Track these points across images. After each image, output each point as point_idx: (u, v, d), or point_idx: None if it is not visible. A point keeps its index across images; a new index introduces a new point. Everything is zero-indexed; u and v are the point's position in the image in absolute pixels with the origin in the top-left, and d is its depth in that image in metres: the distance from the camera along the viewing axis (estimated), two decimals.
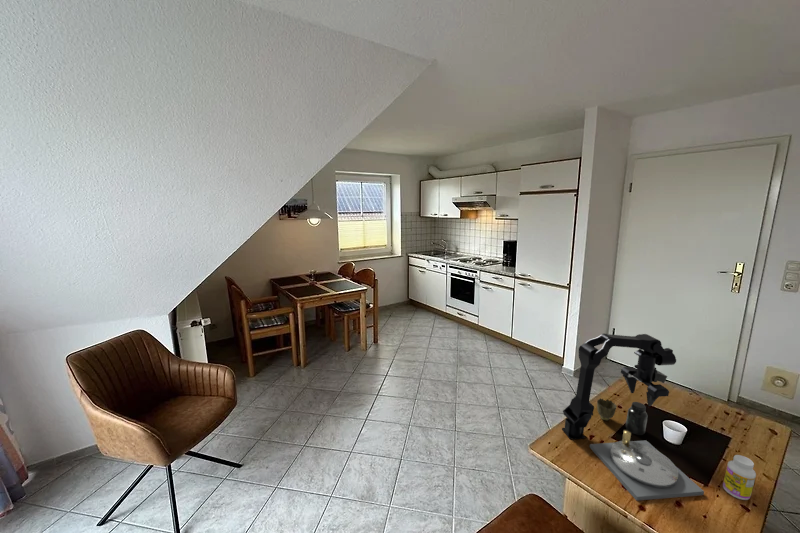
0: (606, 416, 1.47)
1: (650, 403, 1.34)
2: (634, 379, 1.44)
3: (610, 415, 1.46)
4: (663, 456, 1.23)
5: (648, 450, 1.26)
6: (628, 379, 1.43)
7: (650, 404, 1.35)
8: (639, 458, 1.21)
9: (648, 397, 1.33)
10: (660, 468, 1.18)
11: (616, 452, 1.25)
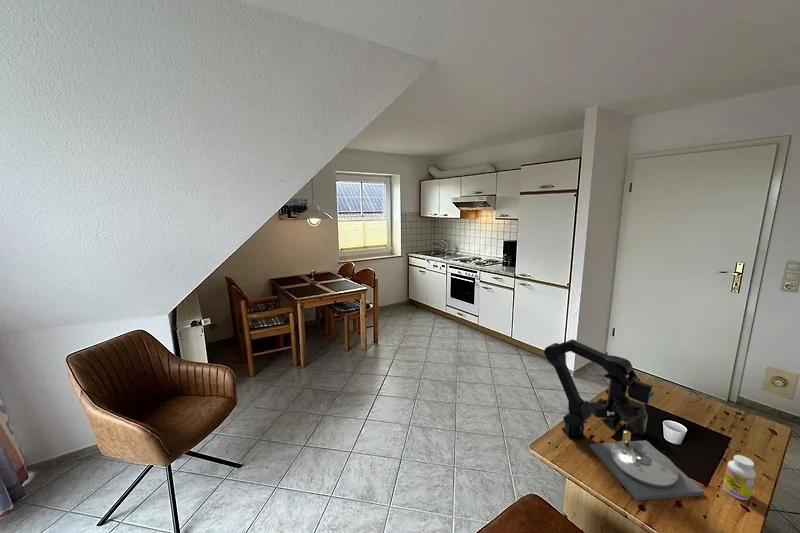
0: None
1: (608, 424, 1.28)
2: (618, 415, 1.26)
3: None
4: (663, 456, 1.23)
5: (648, 450, 1.26)
6: None
7: (609, 425, 1.28)
8: (639, 458, 1.21)
9: None
10: (660, 468, 1.18)
11: (616, 452, 1.25)
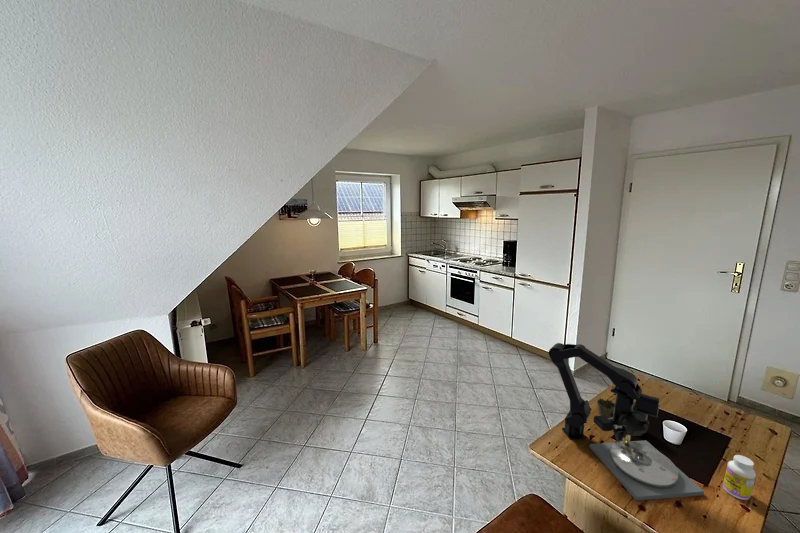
0: (606, 416, 1.47)
1: (616, 437, 1.29)
2: (622, 428, 1.27)
3: (610, 415, 1.46)
4: (663, 456, 1.23)
5: (648, 450, 1.26)
6: None
7: (616, 438, 1.29)
8: (639, 458, 1.21)
9: None
10: (660, 468, 1.18)
11: (616, 452, 1.25)
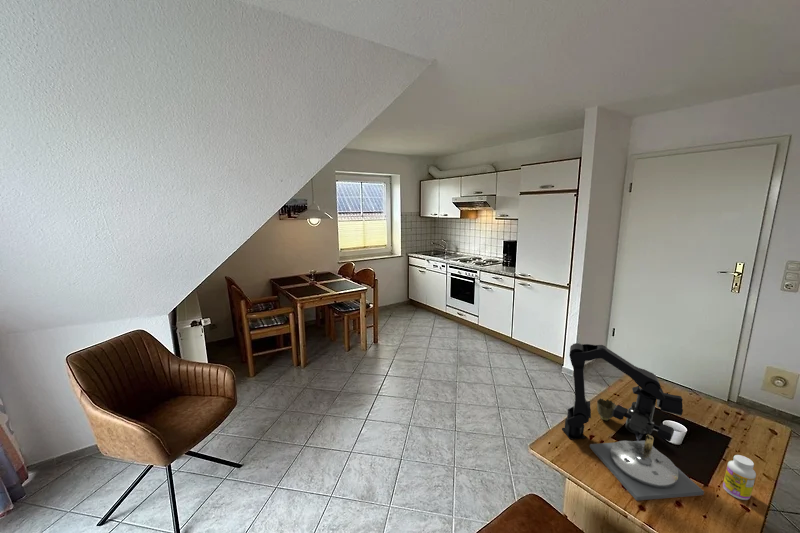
0: (606, 416, 1.47)
1: None
2: None
3: (610, 415, 1.46)
4: (675, 472, 1.16)
5: (665, 463, 1.20)
6: None
7: None
8: (638, 456, 1.22)
9: None
10: (651, 471, 1.16)
11: (623, 444, 1.29)
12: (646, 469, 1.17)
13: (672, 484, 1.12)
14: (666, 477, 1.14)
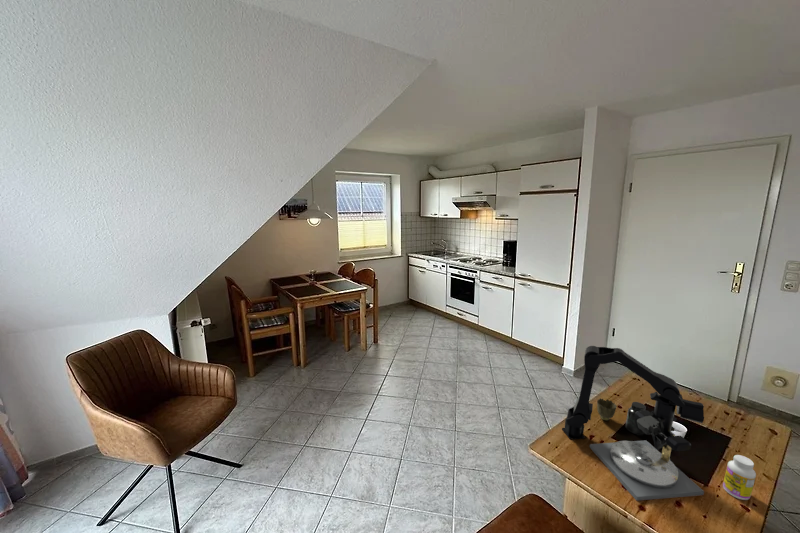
0: (606, 416, 1.47)
1: None
2: None
3: (610, 415, 1.46)
4: (667, 480, 1.12)
5: (667, 472, 1.16)
6: None
7: None
8: (639, 455, 1.23)
9: None
10: (638, 467, 1.18)
11: (639, 445, 1.29)
12: (635, 464, 1.19)
13: (652, 484, 1.12)
14: (649, 477, 1.14)
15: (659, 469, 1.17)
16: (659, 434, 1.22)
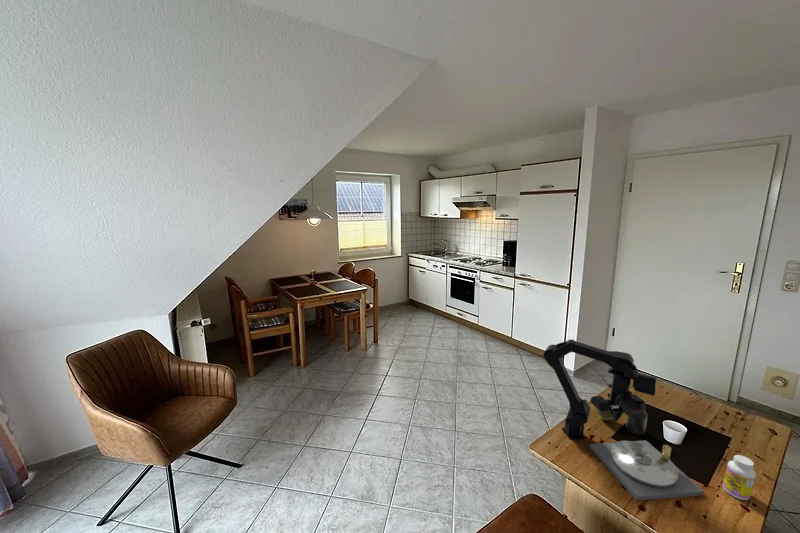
0: (606, 416, 1.47)
1: (612, 417, 1.30)
2: (619, 408, 1.28)
3: (610, 415, 1.46)
4: (667, 480, 1.12)
5: (667, 472, 1.16)
6: None
7: (613, 419, 1.30)
8: (639, 455, 1.23)
9: None
10: (638, 467, 1.18)
11: (639, 445, 1.29)
12: (635, 464, 1.19)
13: (652, 484, 1.12)
14: (649, 477, 1.14)
15: (659, 469, 1.17)
16: None
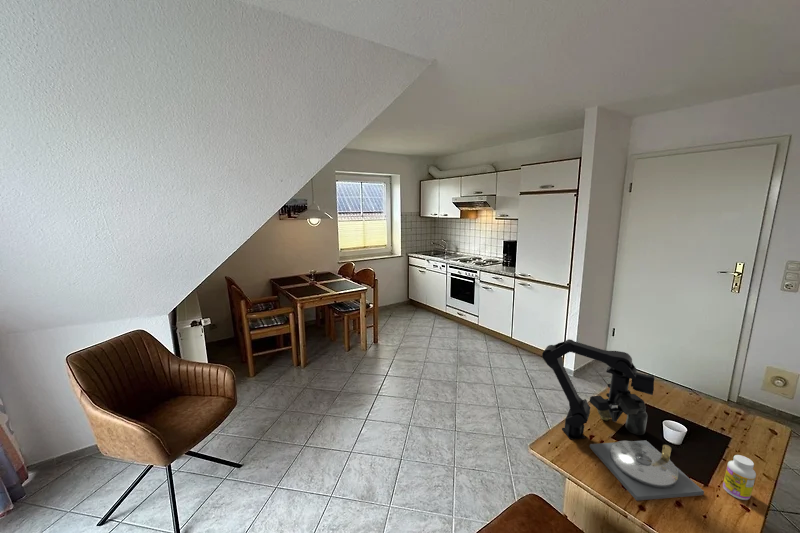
0: (606, 416, 1.47)
1: (611, 417, 1.30)
2: (618, 408, 1.28)
3: (610, 415, 1.46)
4: (667, 480, 1.12)
5: (667, 472, 1.16)
6: None
7: (612, 418, 1.30)
8: (639, 455, 1.23)
9: None
10: (638, 467, 1.18)
11: (639, 445, 1.29)
12: (635, 464, 1.19)
13: (652, 484, 1.12)
14: (649, 477, 1.14)
15: (659, 469, 1.17)
16: None
